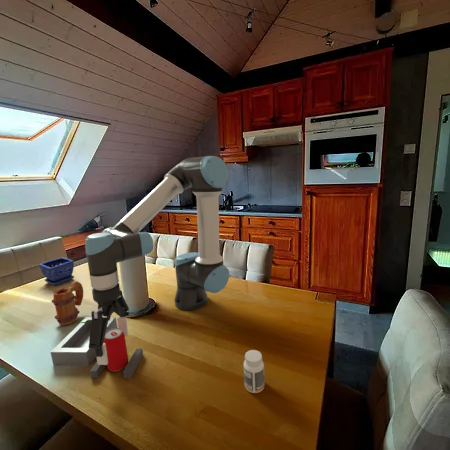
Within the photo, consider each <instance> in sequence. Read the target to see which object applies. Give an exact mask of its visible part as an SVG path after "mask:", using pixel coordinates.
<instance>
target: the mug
mask: <svg viewBox="0 0 450 450" xmlns="http://www.w3.org/2000/svg"><path fill="white" fill-rule="evenodd" d="M73 292H75V294H74V293H73ZM83 299H84V287H83V285H82V283H80V282H79V281H72V282H70V285H69V286H68V287H65V288H64V287H63V288H60V289H59V290H55V291H54V293H53V299H52V300H50V301H51V303H52V304H53V305H54V306H55V311H56V315H54V319H56V321H57V323H58V324H59V325H60V326H68V325H71V324H73V323H74V322H76V321H77V320H78V317H79V316H78V315H79V314H80V311H79V309H78V308H77V306H78V307H79V306H81V305H82V302H83Z"/></svg>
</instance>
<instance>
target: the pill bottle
mask: <svg viewBox="0 0 450 450" xmlns="http://www.w3.org/2000/svg"><path fill="white" fill-rule="evenodd" d="M242 365H243V378H244V379H243V384H244V387H245V389H246V391H248V392H249V393H252V394H258V393H261V392H262V391H263V390H264V389H265V363H264V361H263V355H262V353H261V351H258V350H256V349H251V350H248V351H247V352H245V354H244V361H243V364H242Z"/></svg>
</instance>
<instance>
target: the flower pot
mask: <svg viewBox="0 0 450 450" xmlns="http://www.w3.org/2000/svg"><path fill="white" fill-rule="evenodd" d="M74 266H75V265H74V260H72V259H70V258H67V257H58V258H55V259H50V260H48V261H45V262H42V263H39V268H40V271H41V273H42V275H43V276H44V277H45V279H44V282H46V283H48V284H51V285H52V286H54V287H55V286H59V285H61V284H64V283H67V282H69V281H72V280H73V279H74V278H75V275H73V272H74V268H75V267H74Z"/></svg>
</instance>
